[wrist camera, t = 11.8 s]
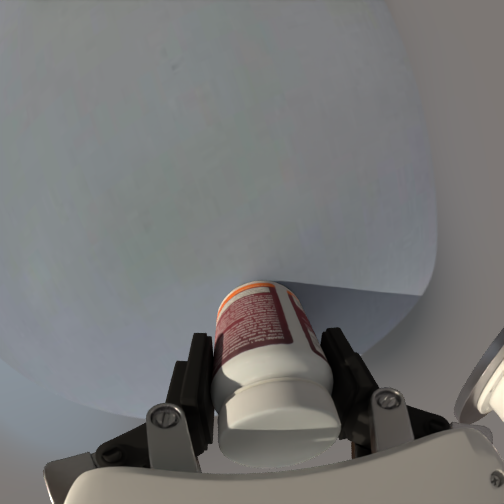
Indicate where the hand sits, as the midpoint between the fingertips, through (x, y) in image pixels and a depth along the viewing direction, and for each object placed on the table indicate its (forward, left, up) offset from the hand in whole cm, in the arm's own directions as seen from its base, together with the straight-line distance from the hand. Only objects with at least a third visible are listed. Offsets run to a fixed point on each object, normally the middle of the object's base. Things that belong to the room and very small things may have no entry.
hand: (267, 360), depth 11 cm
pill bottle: (0, 0, -4) cm, 4 cm away
